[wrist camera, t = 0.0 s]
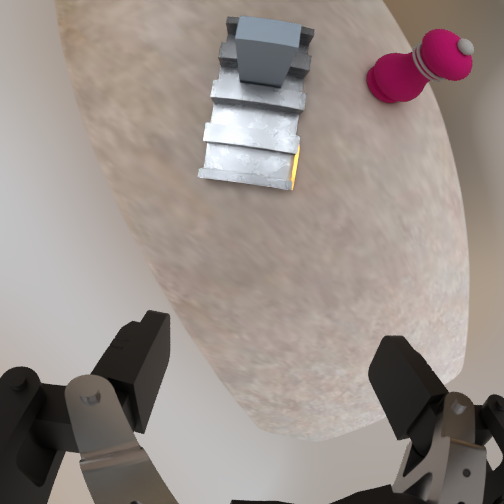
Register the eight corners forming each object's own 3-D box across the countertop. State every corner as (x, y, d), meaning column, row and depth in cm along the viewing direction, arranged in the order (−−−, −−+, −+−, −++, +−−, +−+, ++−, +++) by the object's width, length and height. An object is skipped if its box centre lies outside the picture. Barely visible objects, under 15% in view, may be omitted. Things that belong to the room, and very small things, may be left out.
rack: (230, 32, 29) (227, 16, 24) (309, 44, 30) (317, 30, 25) (204, 176, 36) (197, 177, 31) (288, 188, 36) (294, 191, 31)
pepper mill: (408, 107, 32) (501, 86, 13) (368, 105, 33) (457, 71, 13) (398, 65, 30) (480, 24, 11) (358, 62, 30) (432, 4, 11)
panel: (243, 71, 30) (240, 15, 16) (281, 76, 30) (301, 24, 16) (240, 87, 31) (235, 38, 16) (278, 93, 31) (298, 47, 17)
